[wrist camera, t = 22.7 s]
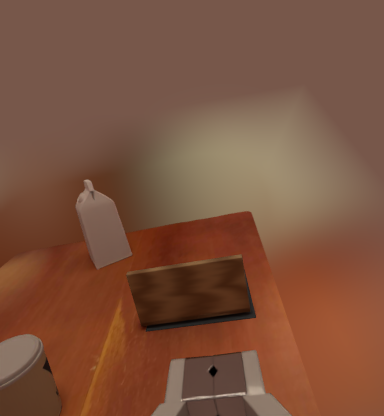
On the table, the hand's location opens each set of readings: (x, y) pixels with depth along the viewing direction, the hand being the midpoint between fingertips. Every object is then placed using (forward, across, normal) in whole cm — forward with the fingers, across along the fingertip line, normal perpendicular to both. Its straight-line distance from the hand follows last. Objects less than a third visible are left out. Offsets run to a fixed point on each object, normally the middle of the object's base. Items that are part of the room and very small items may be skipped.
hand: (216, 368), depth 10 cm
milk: (+76, +38, +30) cm, 90 cm away
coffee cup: (+22, +32, +30) cm, 49 cm away
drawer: (+46, +8, +30) cm, 55 cm away
